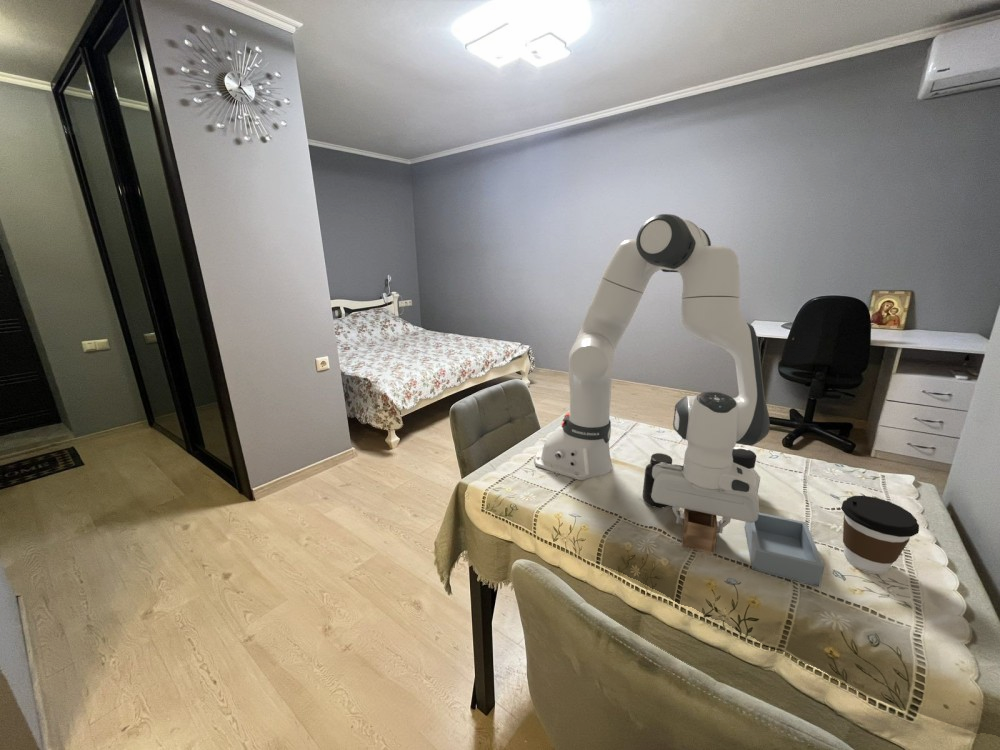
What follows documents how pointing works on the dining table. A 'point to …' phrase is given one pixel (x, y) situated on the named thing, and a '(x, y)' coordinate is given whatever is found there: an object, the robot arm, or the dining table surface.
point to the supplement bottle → (649, 479)
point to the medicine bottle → (746, 461)
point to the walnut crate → (699, 531)
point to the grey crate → (784, 549)
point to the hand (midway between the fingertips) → (698, 526)
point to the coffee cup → (875, 532)
